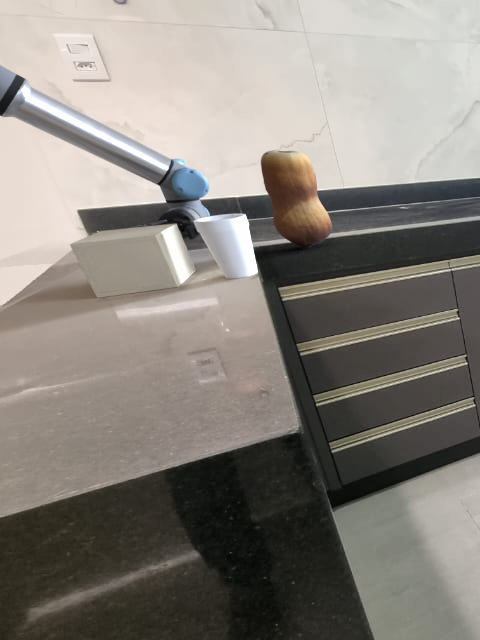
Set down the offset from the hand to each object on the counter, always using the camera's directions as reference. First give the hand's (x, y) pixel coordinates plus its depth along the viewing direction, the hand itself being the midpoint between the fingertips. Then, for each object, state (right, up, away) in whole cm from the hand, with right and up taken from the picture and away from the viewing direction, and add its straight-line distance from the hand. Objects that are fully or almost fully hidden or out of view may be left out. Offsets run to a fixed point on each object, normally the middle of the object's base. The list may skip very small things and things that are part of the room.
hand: (154, 237), depth 126 cm
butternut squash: (+24, +2, +21) cm, 32 cm away
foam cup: (+24, -10, -3) cm, 26 cm away
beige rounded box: (+6, -12, -7) cm, 15 cm away
